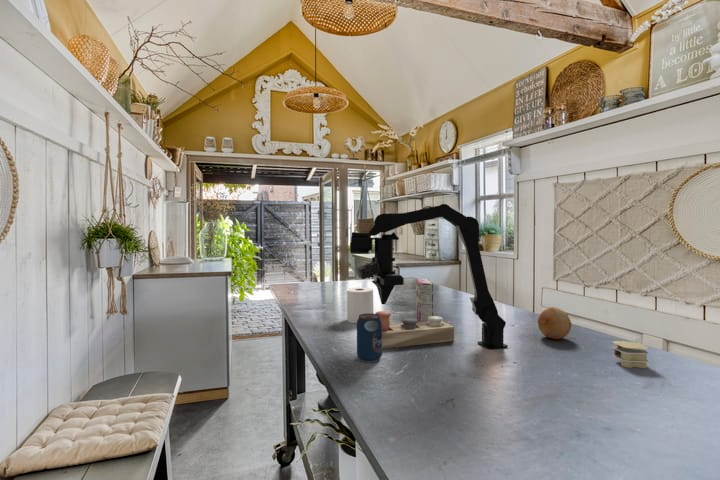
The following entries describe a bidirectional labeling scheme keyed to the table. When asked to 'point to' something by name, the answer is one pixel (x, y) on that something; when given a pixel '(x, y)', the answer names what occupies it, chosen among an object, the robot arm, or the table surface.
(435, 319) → the white plug
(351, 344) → the table surface
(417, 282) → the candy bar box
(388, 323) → the salmon plug
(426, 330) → the socket block
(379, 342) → the soda can
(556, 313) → the onion
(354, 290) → the toilet paper
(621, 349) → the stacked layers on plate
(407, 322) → the grey rounded piece
